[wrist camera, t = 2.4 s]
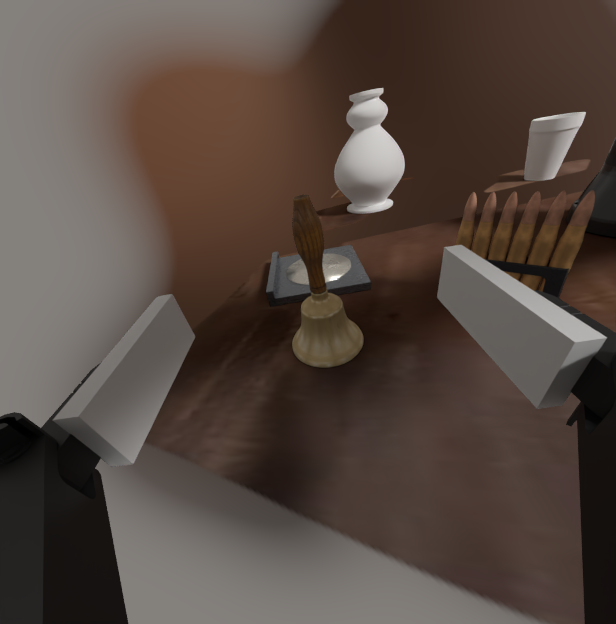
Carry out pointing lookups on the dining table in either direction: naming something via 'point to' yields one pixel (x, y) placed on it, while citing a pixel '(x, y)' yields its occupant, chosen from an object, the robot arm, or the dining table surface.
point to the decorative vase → (368, 157)
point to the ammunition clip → (528, 239)
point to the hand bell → (320, 300)
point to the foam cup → (550, 144)
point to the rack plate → (294, 279)
